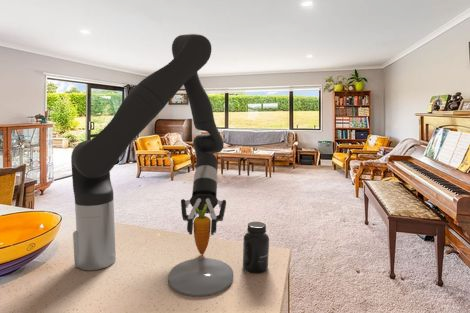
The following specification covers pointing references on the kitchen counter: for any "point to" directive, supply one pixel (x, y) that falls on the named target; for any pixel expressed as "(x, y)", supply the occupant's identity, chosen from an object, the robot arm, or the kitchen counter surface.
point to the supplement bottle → (256, 248)
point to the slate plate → (200, 277)
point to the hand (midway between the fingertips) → (201, 233)
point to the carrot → (202, 230)
